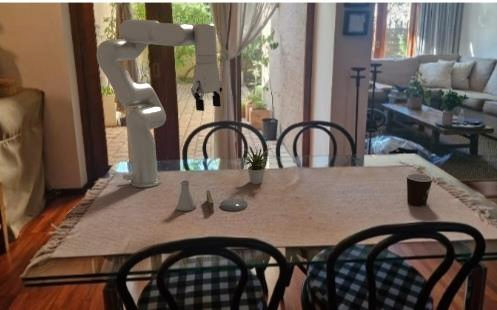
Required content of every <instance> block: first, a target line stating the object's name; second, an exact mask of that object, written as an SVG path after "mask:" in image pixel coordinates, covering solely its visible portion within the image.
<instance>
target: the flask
mask: <svg viewBox="0 0 497 310" xmlns="http://www.w3.org/2000/svg"><path fill="white" fill-rule="evenodd" d="M180 185H181V189H180V194H179V198H178V202H177V204H176V210H178V211H182V212H187V211H189V212H190V211H192V210H194V209H196V208H197V204H196V201H195V199H194V197H193V195H192V193H191V189H190V180H187V179H185V180H181V181H180Z"/></svg>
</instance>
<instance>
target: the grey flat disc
mask: <svg viewBox="0 0 497 310" xmlns="http://www.w3.org/2000/svg"><path fill="white" fill-rule="evenodd" d="M219 207H220V209H222V210H223V211H227V212H238V211H243V210H245V209H247V207H248V202H247V201H246V200H244V199H239V198H228V199H224V200H222V201H221V202H220V204H219Z"/></svg>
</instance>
